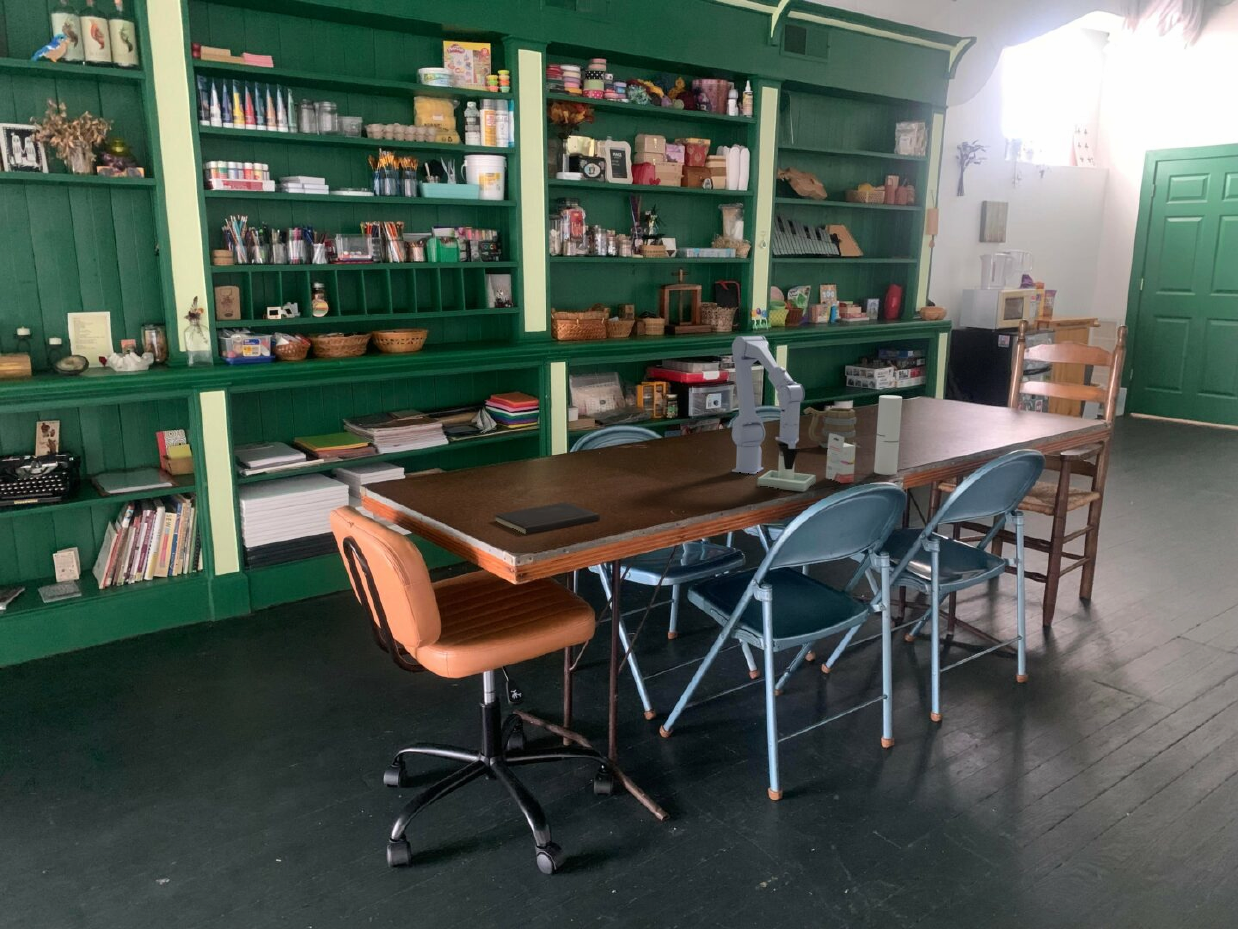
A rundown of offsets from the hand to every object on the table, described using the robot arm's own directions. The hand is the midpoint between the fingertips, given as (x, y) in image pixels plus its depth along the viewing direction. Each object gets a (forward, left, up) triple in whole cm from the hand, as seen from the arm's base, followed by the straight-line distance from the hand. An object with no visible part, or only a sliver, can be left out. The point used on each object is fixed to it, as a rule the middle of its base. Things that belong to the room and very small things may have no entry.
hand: (787, 467), depth 288 cm
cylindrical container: (-32, +24, -6) cm, 40 cm away
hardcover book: (+70, -44, -6) cm, 83 cm away
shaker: (0, 0, -3) cm, 3 cm away
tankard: (-66, -4, -6) cm, 66 cm away
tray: (0, 0, -6) cm, 6 cm away
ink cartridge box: (-14, +13, -6) cm, 20 cm away
